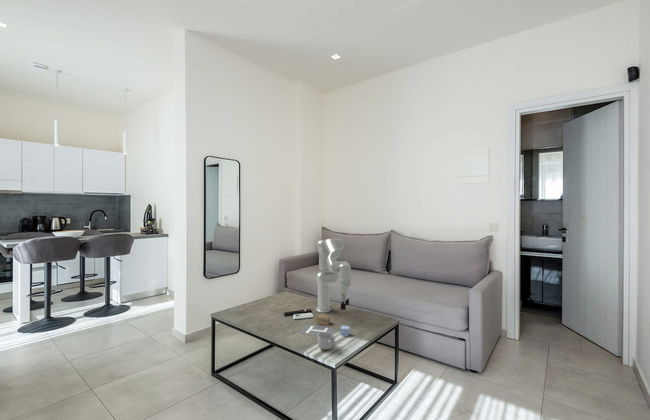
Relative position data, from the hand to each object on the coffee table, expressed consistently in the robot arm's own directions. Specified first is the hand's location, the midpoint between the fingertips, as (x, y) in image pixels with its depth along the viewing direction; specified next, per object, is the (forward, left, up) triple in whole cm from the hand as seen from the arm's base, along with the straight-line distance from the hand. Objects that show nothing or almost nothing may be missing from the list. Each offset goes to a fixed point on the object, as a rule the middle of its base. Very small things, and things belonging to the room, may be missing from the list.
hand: (344, 307), depth 209 cm
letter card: (0, -20, -19) cm, 27 cm away
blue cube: (0, 0, -19) cm, 19 cm away
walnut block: (-14, -20, -19) cm, 31 cm away
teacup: (+23, -6, -19) cm, 30 cm away
